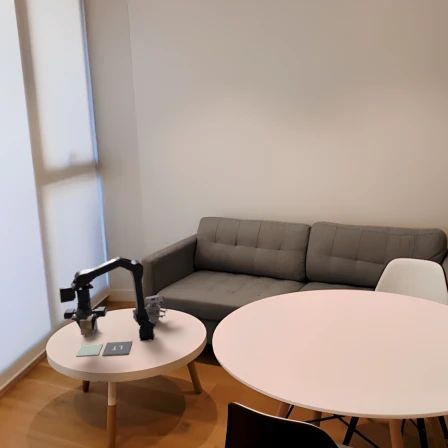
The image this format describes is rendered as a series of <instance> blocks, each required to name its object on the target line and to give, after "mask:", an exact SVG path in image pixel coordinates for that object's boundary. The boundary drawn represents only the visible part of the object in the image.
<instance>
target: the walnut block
mask: <svg viewBox="0 0 448 448" xmlns="http://www.w3.org/2000/svg"><path fill="white" fill-rule="evenodd" d="M92 317H93V316H89V317H88V319H86V320H80V328H79V329H80V335H81V336H86V335H91V336H92V335H94V333H95V332H94V330H93V328H92ZM93 332H94V333H93Z"/></svg>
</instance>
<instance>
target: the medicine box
mask: <svg viewBox="0 0 448 448" xmlns="http://www.w3.org/2000/svg"><path fill="white" fill-rule="evenodd" d="M92 316H93V314H92ZM98 327H99V326H98V319H96V323H95V327H94V332H93V334H95V332H96V331H97V330H98V329H99V328H98ZM85 336H92V335H85Z"/></svg>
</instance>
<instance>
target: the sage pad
mask: <svg viewBox="0 0 448 448" xmlns="http://www.w3.org/2000/svg"><path fill="white" fill-rule="evenodd" d="M102 347H103V343H102V344H85V345H81V346H80V348H79V350H78V352H77V354H76V357H90V356H91V357H92V356H99V355H100V352H101V350H102Z"/></svg>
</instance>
